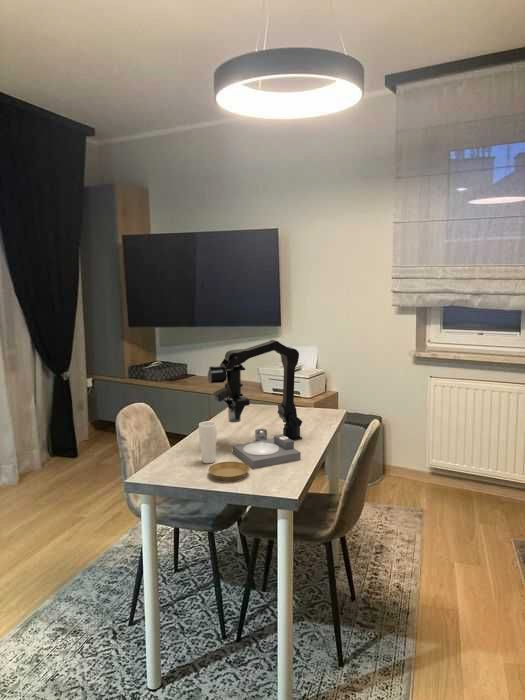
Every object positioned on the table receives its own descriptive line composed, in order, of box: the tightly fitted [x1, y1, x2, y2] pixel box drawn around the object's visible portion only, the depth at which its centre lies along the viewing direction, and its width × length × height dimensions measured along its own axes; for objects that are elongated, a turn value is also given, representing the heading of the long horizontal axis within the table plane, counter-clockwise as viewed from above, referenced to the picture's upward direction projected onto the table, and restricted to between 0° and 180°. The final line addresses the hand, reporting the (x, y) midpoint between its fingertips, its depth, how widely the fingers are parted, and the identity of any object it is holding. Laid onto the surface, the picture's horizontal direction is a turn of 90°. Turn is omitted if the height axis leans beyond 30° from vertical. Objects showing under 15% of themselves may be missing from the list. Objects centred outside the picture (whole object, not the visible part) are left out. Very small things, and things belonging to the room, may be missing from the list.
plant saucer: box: [207, 460, 251, 482], centre depth 189 cm, size 15×15×3 cm
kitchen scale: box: [232, 434, 302, 470], centre depth 207 cm, size 20×20×6 cm
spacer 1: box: [227, 408, 242, 423], centre depth 218 cm, size 5×5×5 cm
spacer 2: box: [254, 428, 268, 442], centre depth 225 cm, size 5×5×5 cm
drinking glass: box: [198, 420, 218, 464], centre depth 202 cm, size 7×7×15 cm
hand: (234, 418), depth 219 cm, fingers closed on spacer 1, 5 cm apart
